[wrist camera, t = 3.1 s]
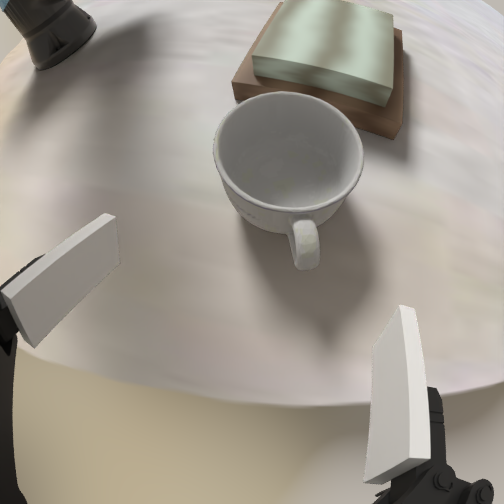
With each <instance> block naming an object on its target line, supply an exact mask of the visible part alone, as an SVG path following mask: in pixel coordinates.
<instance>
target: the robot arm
mask: <svg viewBox="0 0 504 504" xmlns="http://www.w3.org/2000/svg"><path fill="white" fill-rule="evenodd" d="M0 7H1V9H2V11H3V12H4V13H5V14H6V15H7V17H8V18H9V19H10V20H11V22H12V23H13V24H14V26H15V27H16V28H17V29H18V31H19V32H20V33H21V34H22V36H23V37H24V38H25V40H26V42H27V45H28V49H29V52H30V56H31V59H32V62H33V64H34V65H35V66H36V67H37V69H39V70H44V69H47V68H50V67H52V66H54V65H56V64H57V63H59V62H61V61H62V60H64V59H65V58H67V57H68V56H69V55H71V54H72V53H73V52H74V51H76V50H77V49H78V48H79V47H80V46H81V45H83V44H84V43H85V42H86V41H87V40H88V39H89V37H90V36H91V35H92V34H93V32H94V31H95V29H96V23H95V21H94V20H93V18H92V17H91V16H90V15H88V14H87V13H86V12H85V11H83V10H82V9H81V8H79V7H78V6H76V5H75V4H74V3H73V1H72V0H0ZM119 264H120V256H119V246H118V235H117V222H116V216H113V215H110V214H106V213H104V214H102V215H101V216H99V217H98V218H96V219H95V220H93V221H92V222H90V223H89V224H87V225H86V226H84V227H83V228H81V229H80V230H78V231H77V232H76V233H74V234H73V235H71V236H70V237H68V238H67V239H66V240H64V241H63V242H61V243H60V244H59V245H57V246H56V247H55V248H53V249H52V250H51V251H49V252H48V253H47V254H44V255H42V256H39V257H37V258H35V259H34V260H32V261H31V262H30V263H28V264H27V266H26V267H23V268H22V269H21V270H20V272H19V271H18V272H17V273H16V274H15V275H13V276H12V277H11V278H10V279H9V280H7V281H6V282H5V283H4V284H3V285H1V286H0V504H27V501H26V499H25V497H24V496H23V494H22V493H21V491H20V490H19V488H18V484H17V477H16V469H15V459H14V447H13V426H12V423H13V422H12V405H13V380H14V367H15V357H16V349H17V335H16V333H17V332H18V331H20V333H21V335H22V337H23V339H24V340H25V341H26V342H27V343H28V344H29V345H31V346H32V347H33V348H34V349H35V348H36V346H37V345H38V344H39V343H40V342H41V341H42V340H43V339H44V338H45V337H46V336H47V335H48V334H49V333H50V331H51V330H52V329H53V328H54V327H55V326H56V325H57V324H58V323H59V322H60V321H61V320H62V319H63V318H64V317H65V316H66V315H67V314H68V313H69V312H70V311H71V310H72V309H73V308H74V307H75V306H76V305H77V304H78V303H79V302H80V301H81V300H82V299H83V298H84V297H85V296H86V295H87V294H88V293H89V292H90V291H91V290H92V289H93V288H94V287H96V286H97V285H98V284H99V283H100V282H101V281H102V280H103V279H104V278H105V277H106V276H107V275H108V274H109V273H110V272H112V271H113V270H114V269H115V268H116V267H117V266H118V265H119ZM442 414H443V407H442V399H441V397H440V395H439V393H438V391H437V388H432V387H427V383H426V375H425V367H424V359H423V352H422V346H421V340H420V334H419V328H418V323H417V318H416V313H415V309H414V308H411V307H407V306H404V305H400V304H399V306H398V308H397V309H396V311H395V313H394V314H393V316H392V317H391V319H390V321H389V322H388V324H387V325H386V327H385V329H384V330H383V332H382V333H381V335H380V336H379V338H378V339H377V341H376V342H375V344H374V345H373V347H372V395H371V413H370V427H369V428H370V429H369V438H368V448H367V457H366V466H365V473H364V480H363V483H370V484H384V483H386V482H388V481H390V480H391V487H390V488H388V489H386V490H384V491H381V492H379V493H378V494H376V495H375V496H376V497H378V496H380V497H379V498H378V499H377V500H376V501H375V502H374V503H373V504H492V501H493V496H494V490H493V486H492V484H491V483H490V482H489V481H488V480H486V479H481V480H478V481H476V482H474V483H469V482H466V481H464V480H461V479H458V478H456V475H455V472H454V470H453V469H452V467H450V466H449V465H447V463H446V447H445V446H446V445H445V429H444V425H443V423H444V416H443V415H442Z"/></svg>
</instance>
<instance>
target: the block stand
mask: <svg viewBox="0 0 504 504" xmlns="http://www.w3.org/2000/svg"><path fill="white" fill-rule="evenodd" d="M231 82H232V87H233V92H234V96H235V99H236V100H242V101H245V100H247V99H249V98H252V97H255V96H258V95H260V94H266V93H272V92H278V91H284V92H295V93H301V94H305V95H310V96H313V97H316V98H318V99H321V100H323V101H325V102H327V103H329V104H331V105H332V106H334V107H335V108H337V109H338V110H339V111H340V112H342V113H343V114H344V115H345V116H346V117H347V118H348V119H349V121H350V122H351V123H352V124H353V126H354V127H356V128H359V129H362V130H366V131H369V132H372V133H375V134H378V135H380V136H383V137H386V138H389V139H392V140H394V138H395V136H396V135H397V133H398V131H399V129H400V127H401V125H402V118H403V43H402V30H399V29H396V28H393V15H392V14H389V13H386V12H382V11H379V10H376V9H372V8H369V7H365V6H362V5H358V4H354V3H350V2H346V1H342V0H285V1H284V2H280V3H279V4H278V6H277V7H276V9H275V10H274V12H273V13H272V15H271V16H270V18H269V20H268V21H267V23H266V24H265V26H264V27H263V29H262V31H261V32H260V34H259V35H258V37H257V39H256V40H255V42H254V43H253V45H252V47H251V48H250V50H249V52H248V53H247V55H246V57H245V59H244V60H243V62H242V64H241V65H240V67H239V69H238V71H237V72H236V74H235V76H234V78H233V80H232V81H231Z"/></svg>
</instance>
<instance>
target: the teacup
mask: <svg viewBox="0 0 504 504" xmlns="http://www.w3.org/2000/svg"><path fill="white" fill-rule="evenodd" d="M213 155H214V160H215V164H216V167H217V170H218V172H219V174H220V176H221V179H222V182H223V186H224V188H225V191H226V193H227V195H228V198H229V200H230V201H231V203H232V205H233V206H234V208H235V209H236V210H237V212H238V213H239V214H240V215H241V216H242V217H243V218H244V219H246V220H247V221H248V222H250V223H251V224H253V225H255V226H256V227H258V228H261V229H263V230H266V231H269V232H273V233H280V234H287V236H288V239H289V243H290V248H291V252H292V257H293V261H294V265H295V267H296V268H297V269H298V270H301V271H307V270H311V269H314V268H316V267H317V266H318V264H319V262H320V242H319V236H318V231H317V228H316V227H317V226H319V225H321V224H322V223H324V222H325V221H327V220H328V219H329V218H330V217H331V216H332V215H333V214H334V213H335V212H336V211H337V210H338V208H339V207H340V205H341V204H342V203H343V201H344V200H345V198H346V197H347V195H348V194H349V193H350V192H351V191H352V190H353V189H354V187H355V186H356V184H357V183H358V181H359V178H360V176H361V173H362V170H363V164H364V150H363V145H362V141H361V139H360V136H359V134H358V132H357V130H356V129H355V127H354V126H353V124H352V123H351V122H350V121H349V119H348V118H347V117H346V116H345V115H344V114H343V113H342V112H340V111H339V110H338V109H337V108H335V107H334V106H332V105H331V104H329V103H327V102H325V101H323V100H321V99H318V98H316V97H313V96H310V95H305V94H301V93H295V92H284V91H278V92H272V93H266V94H260V95H258V96H255V97H252V98H249V99H247V100H245V101H243V102H242V103H240V104H238V105H237V106H236V107H234V108H233V109H232V110H231V111H230V112H229V113H228V114H227V115H226V116H225V117H224V119H223V120H222V121H221V123H220V125H219V127H218V129H217V131H216V134H215V137H214V144H213Z"/></svg>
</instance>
